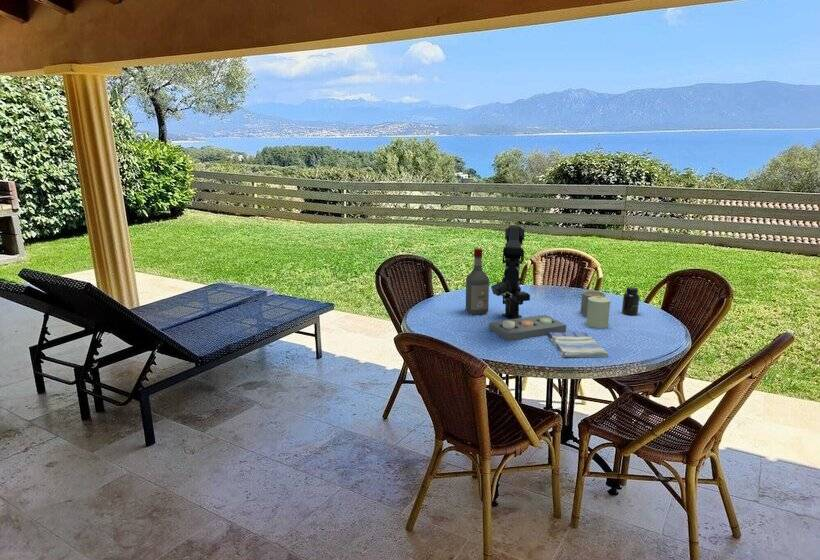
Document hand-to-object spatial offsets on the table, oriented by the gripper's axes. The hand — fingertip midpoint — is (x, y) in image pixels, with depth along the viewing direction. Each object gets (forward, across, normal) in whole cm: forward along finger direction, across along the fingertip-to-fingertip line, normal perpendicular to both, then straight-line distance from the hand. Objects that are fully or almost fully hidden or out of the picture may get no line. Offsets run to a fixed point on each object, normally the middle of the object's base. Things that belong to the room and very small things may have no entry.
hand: (510, 312), depth 217 cm
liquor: (+9, -30, +1) cm, 32 cm away
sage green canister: (+9, +5, +40) cm, 42 cm away
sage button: (+8, 0, +17) cm, 19 cm away
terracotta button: (+8, 0, +8) cm, 12 cm away
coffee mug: (+9, -8, +49) cm, 50 cm away
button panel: (+9, 0, +8) cm, 12 cm away
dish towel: (+10, +22, +16) cm, 29 cm away
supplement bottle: (+9, -1, +64) cm, 65 cm away
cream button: (+7, 0, -1) cm, 7 cm away
